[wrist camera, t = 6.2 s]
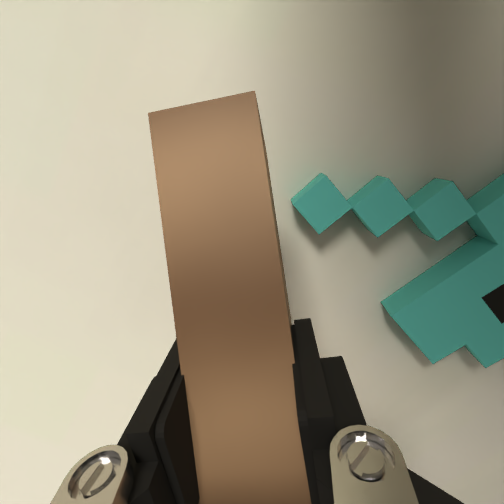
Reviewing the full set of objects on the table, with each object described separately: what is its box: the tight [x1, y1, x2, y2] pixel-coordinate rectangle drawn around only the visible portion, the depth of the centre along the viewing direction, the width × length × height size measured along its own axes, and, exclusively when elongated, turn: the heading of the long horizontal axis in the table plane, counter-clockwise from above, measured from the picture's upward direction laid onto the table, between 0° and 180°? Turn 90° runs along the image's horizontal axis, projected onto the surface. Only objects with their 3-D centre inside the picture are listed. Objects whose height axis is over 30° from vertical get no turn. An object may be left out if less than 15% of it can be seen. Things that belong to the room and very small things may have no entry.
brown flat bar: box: [148, 91, 311, 504], centre depth 10 cm, size 16×3×4 cm, turn 10°
